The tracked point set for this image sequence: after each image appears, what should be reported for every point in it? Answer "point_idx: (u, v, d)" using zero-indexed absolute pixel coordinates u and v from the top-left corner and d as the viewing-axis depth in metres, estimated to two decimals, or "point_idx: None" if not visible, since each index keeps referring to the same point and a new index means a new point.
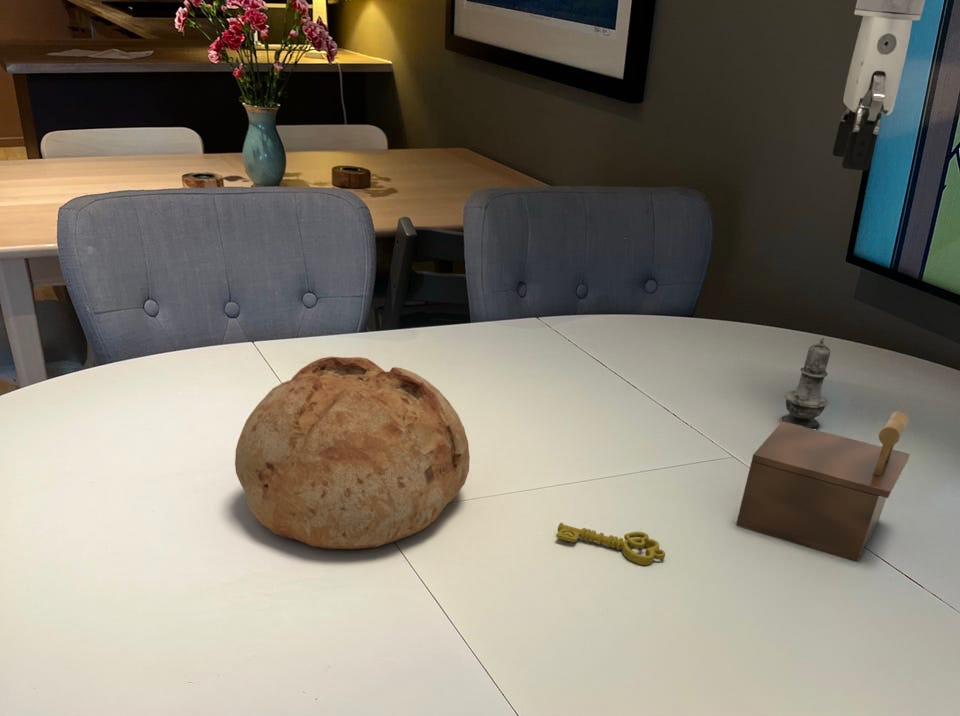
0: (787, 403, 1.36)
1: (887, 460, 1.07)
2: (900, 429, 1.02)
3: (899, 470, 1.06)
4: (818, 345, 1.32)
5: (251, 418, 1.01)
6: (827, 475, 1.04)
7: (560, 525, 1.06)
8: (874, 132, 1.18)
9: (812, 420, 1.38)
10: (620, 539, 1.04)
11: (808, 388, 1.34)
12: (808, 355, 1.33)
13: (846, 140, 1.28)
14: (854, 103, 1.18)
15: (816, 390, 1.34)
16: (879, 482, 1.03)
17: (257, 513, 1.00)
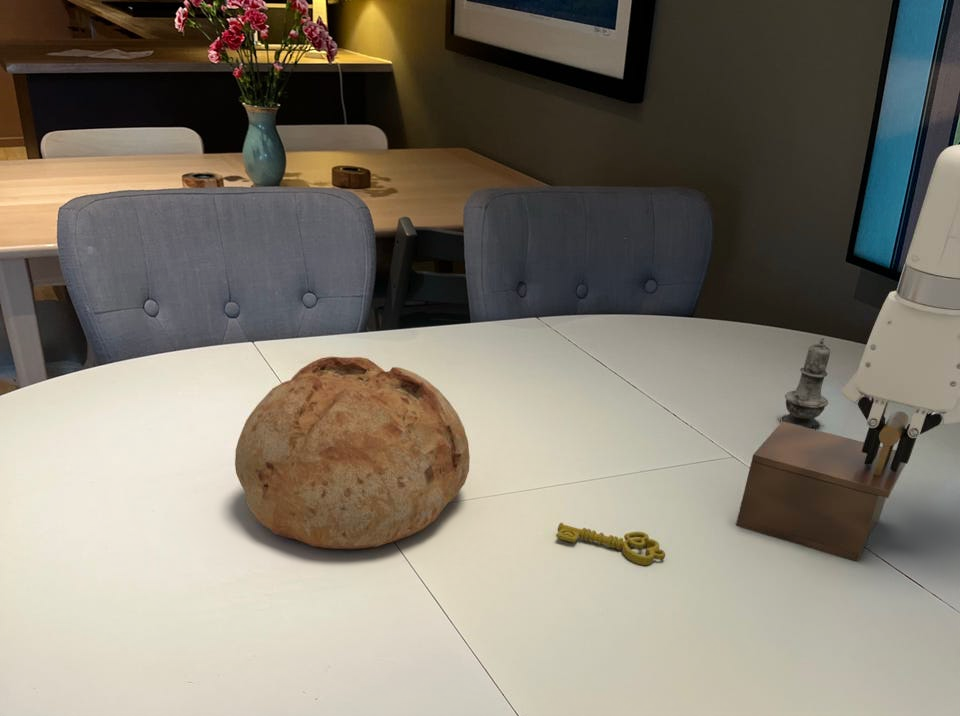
0: (787, 403, 1.36)
1: (887, 460, 1.07)
2: (900, 429, 1.02)
3: (899, 470, 1.06)
4: (818, 345, 1.32)
5: (251, 418, 1.01)
6: (827, 475, 1.04)
7: (560, 525, 1.06)
8: None
9: (812, 420, 1.38)
10: (620, 539, 1.04)
11: (808, 388, 1.34)
12: (808, 355, 1.33)
13: (878, 445, 1.05)
14: (950, 406, 0.98)
15: (816, 390, 1.34)
16: (879, 482, 1.03)
17: (257, 513, 1.00)
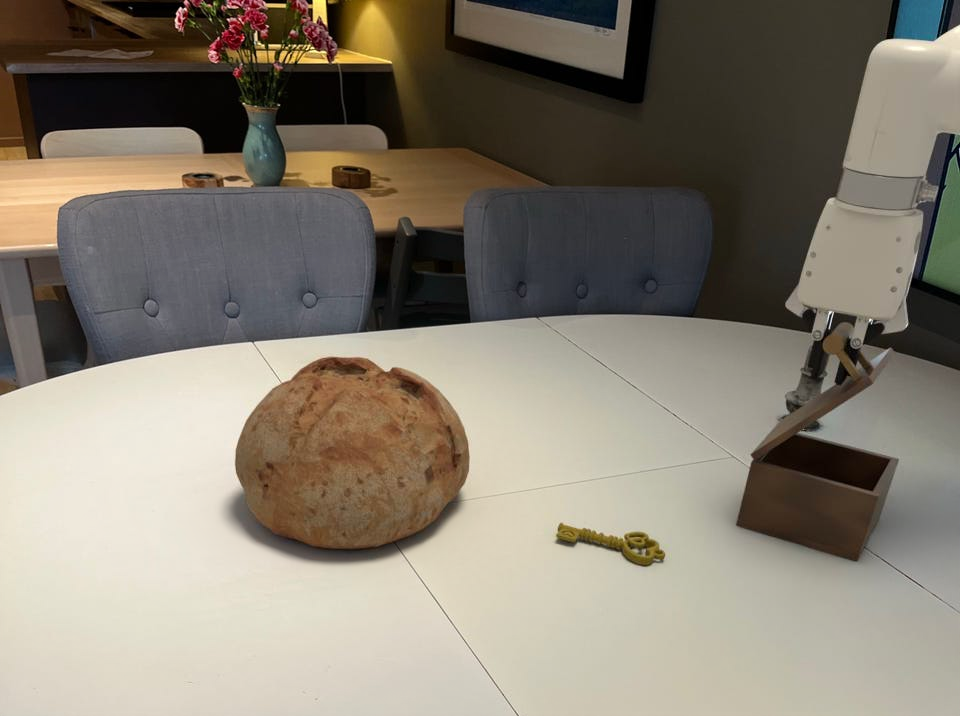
0: (787, 403, 1.36)
1: (868, 365, 1.04)
2: (837, 332, 1.00)
3: (879, 361, 1.01)
4: None
5: (251, 418, 1.01)
6: (814, 414, 1.01)
7: (560, 525, 1.06)
8: None
9: None
10: (620, 539, 1.04)
11: (808, 388, 1.34)
12: (808, 355, 1.33)
13: (823, 359, 1.04)
14: (892, 312, 0.97)
15: (816, 390, 1.34)
16: (859, 380, 0.99)
17: (257, 513, 1.00)
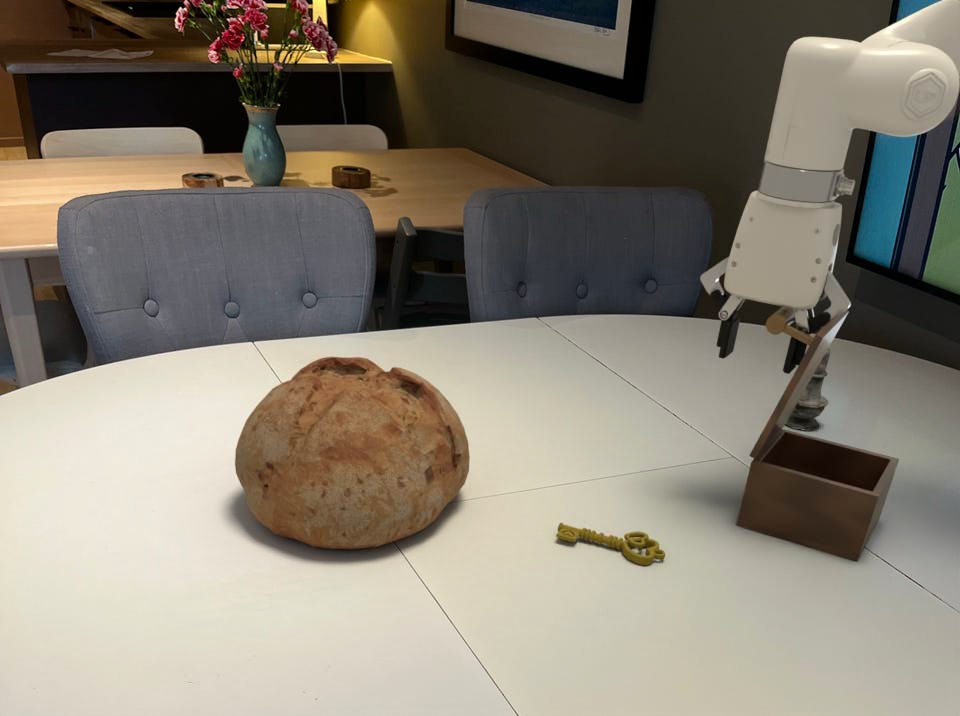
0: None
1: None
2: (776, 313, 1.02)
3: None
4: None
5: (251, 418, 1.01)
6: (786, 391, 1.02)
7: (560, 525, 1.06)
8: None
9: (812, 420, 1.38)
10: (620, 539, 1.04)
11: (808, 388, 1.34)
12: None
13: (731, 339, 1.07)
14: (812, 302, 1.00)
15: (816, 390, 1.34)
16: None
17: (257, 513, 1.00)
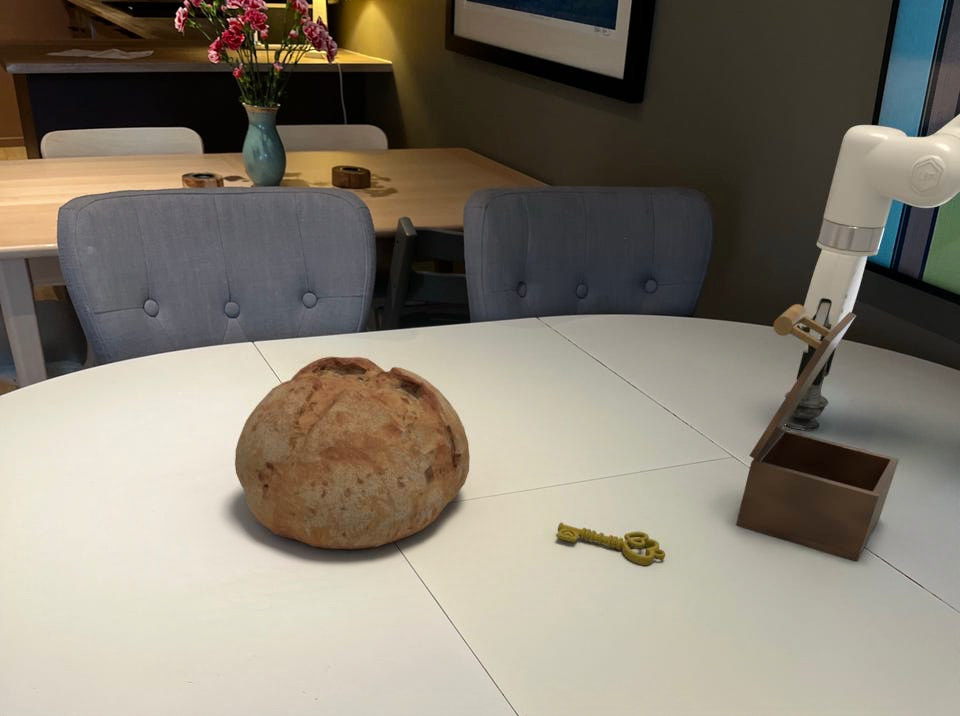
0: None
1: None
2: (784, 313, 1.02)
3: (837, 325, 1.02)
4: None
5: (251, 418, 1.01)
6: (790, 394, 1.01)
7: (560, 525, 1.06)
8: None
9: (812, 420, 1.38)
10: (620, 539, 1.04)
11: None
12: None
13: None
14: None
15: (816, 390, 1.34)
16: None
17: (257, 513, 1.00)
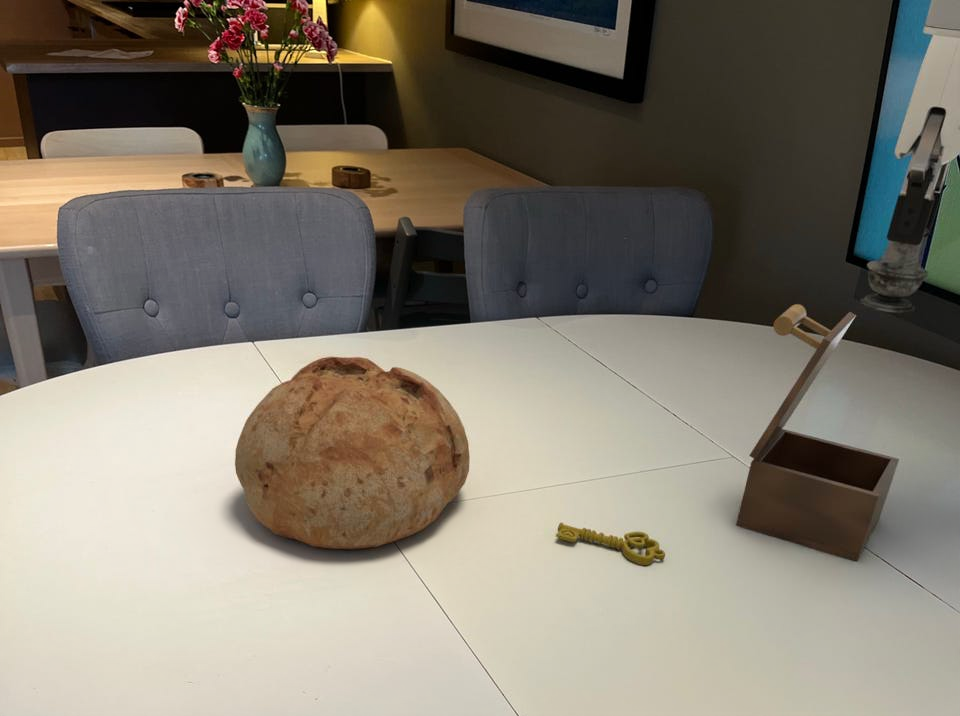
0: (870, 275, 0.99)
1: None
2: (784, 313, 1.02)
3: (837, 325, 1.02)
4: None
5: (251, 418, 1.01)
6: (790, 394, 1.01)
7: (560, 525, 1.06)
8: None
9: (904, 300, 1.00)
10: (620, 539, 1.04)
11: (902, 251, 0.96)
12: None
13: None
14: None
15: (913, 253, 0.96)
16: None
17: (257, 513, 1.00)
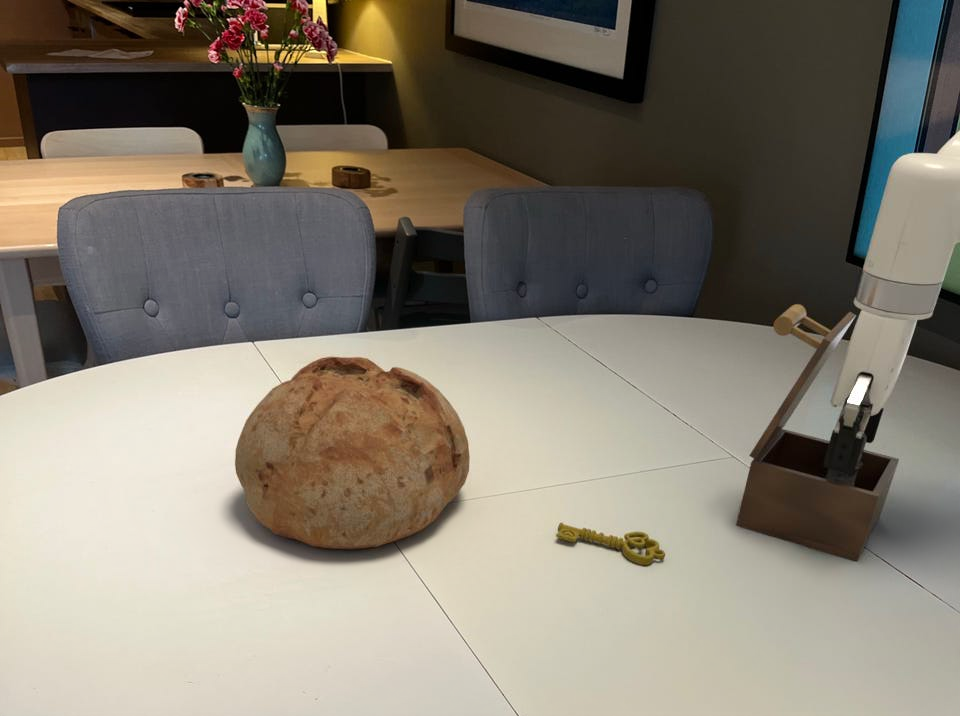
0: None
1: None
2: (784, 313, 1.02)
3: (837, 325, 1.02)
4: None
5: (251, 418, 1.01)
6: (790, 394, 1.01)
7: (560, 525, 1.06)
8: None
9: None
10: (620, 539, 1.04)
11: (839, 481, 1.08)
12: None
13: None
14: None
15: (848, 484, 1.08)
16: None
17: (257, 513, 1.00)
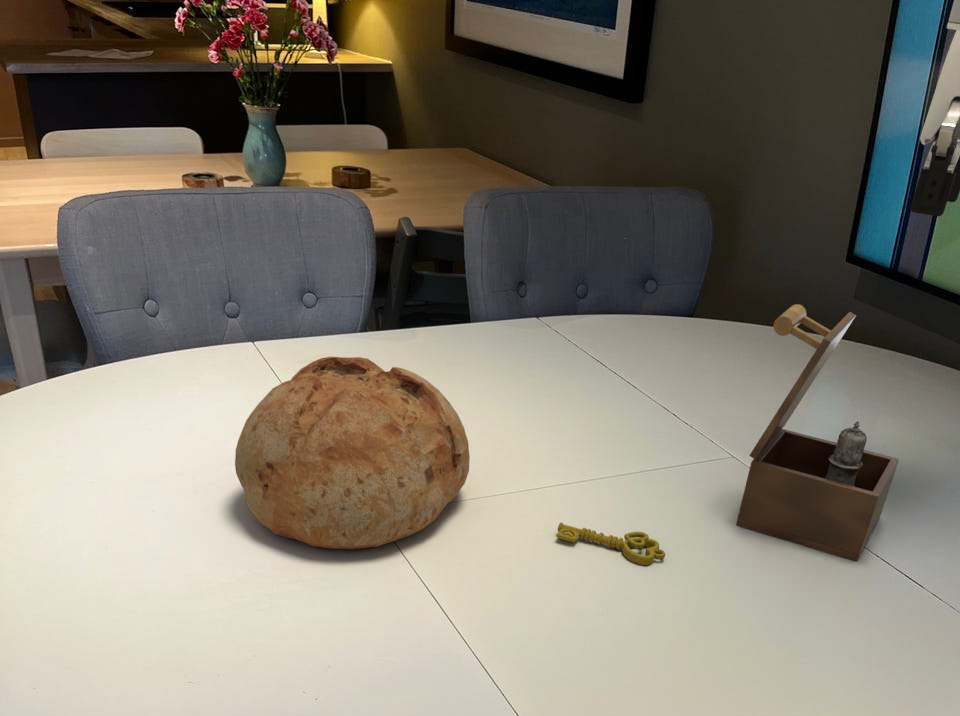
0: None
1: None
2: (784, 313, 1.02)
3: (837, 325, 1.02)
4: (852, 430, 1.05)
5: (251, 418, 1.01)
6: (790, 394, 1.01)
7: (560, 525, 1.06)
8: None
9: None
10: (620, 539, 1.04)
11: (839, 481, 1.08)
12: (839, 442, 1.06)
13: None
14: None
15: (848, 484, 1.08)
16: None
17: (257, 513, 1.00)
